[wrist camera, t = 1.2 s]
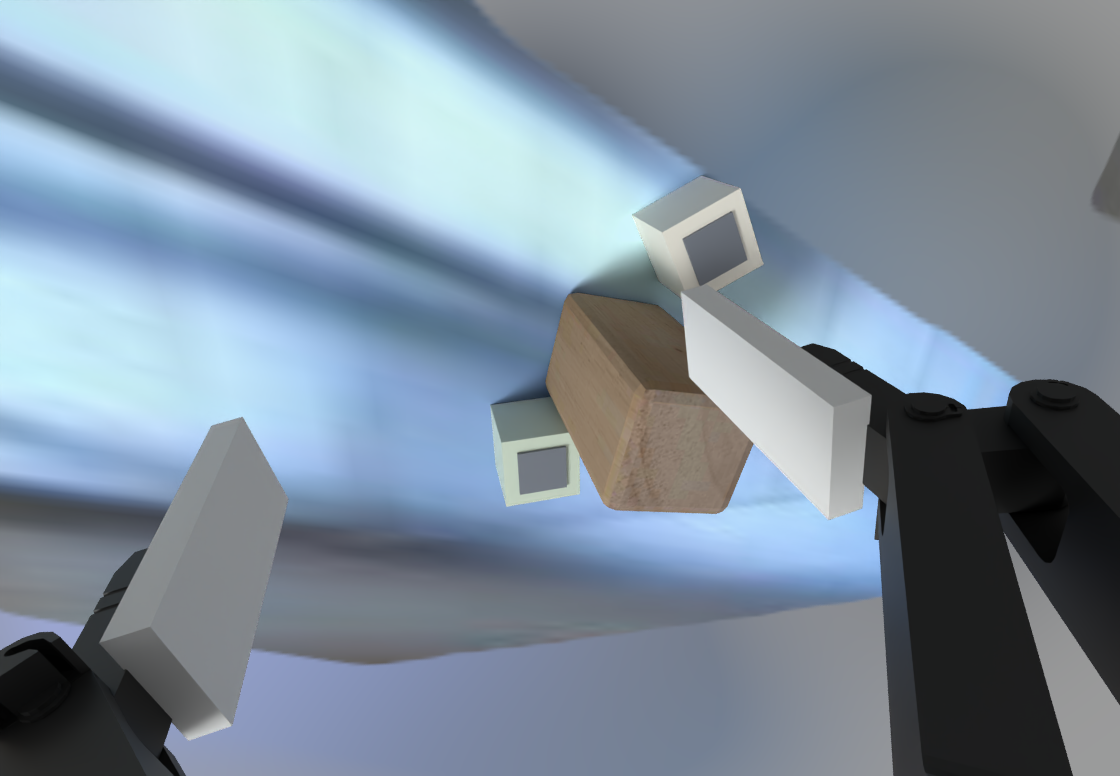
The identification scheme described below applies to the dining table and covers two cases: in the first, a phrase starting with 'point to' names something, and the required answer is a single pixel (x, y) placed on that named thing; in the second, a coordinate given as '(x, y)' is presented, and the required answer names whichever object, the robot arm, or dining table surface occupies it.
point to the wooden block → (641, 409)
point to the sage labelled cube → (533, 452)
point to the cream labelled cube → (699, 236)
